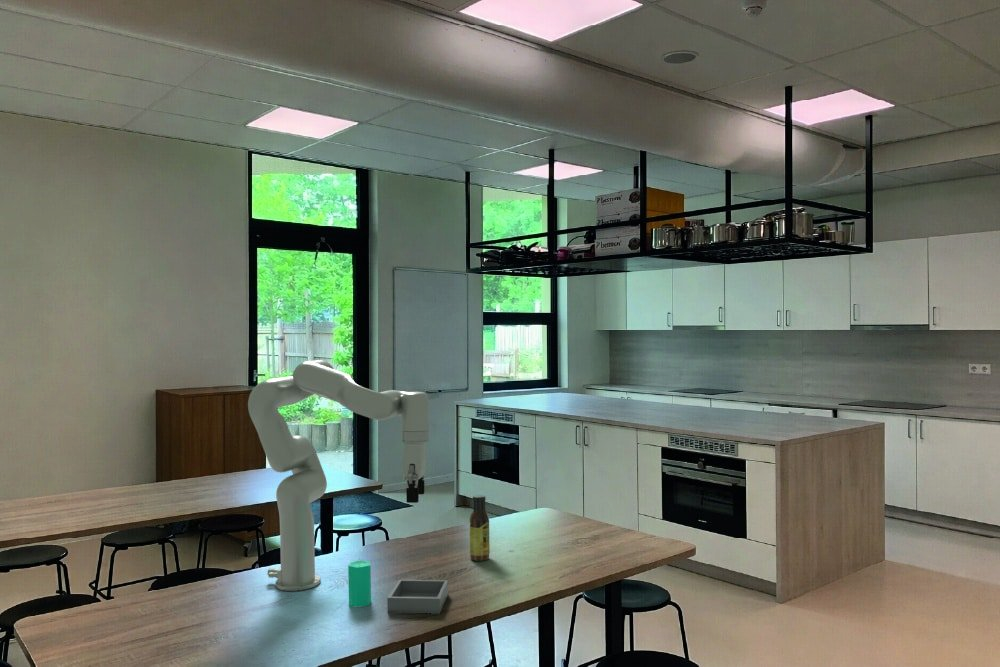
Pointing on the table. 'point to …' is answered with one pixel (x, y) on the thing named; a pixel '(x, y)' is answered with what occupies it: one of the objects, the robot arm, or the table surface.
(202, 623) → the table surface
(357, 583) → the candle
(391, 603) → the box
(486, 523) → the sauce bottle
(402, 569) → the table surface
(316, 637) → the table surface
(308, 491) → the robot arm
